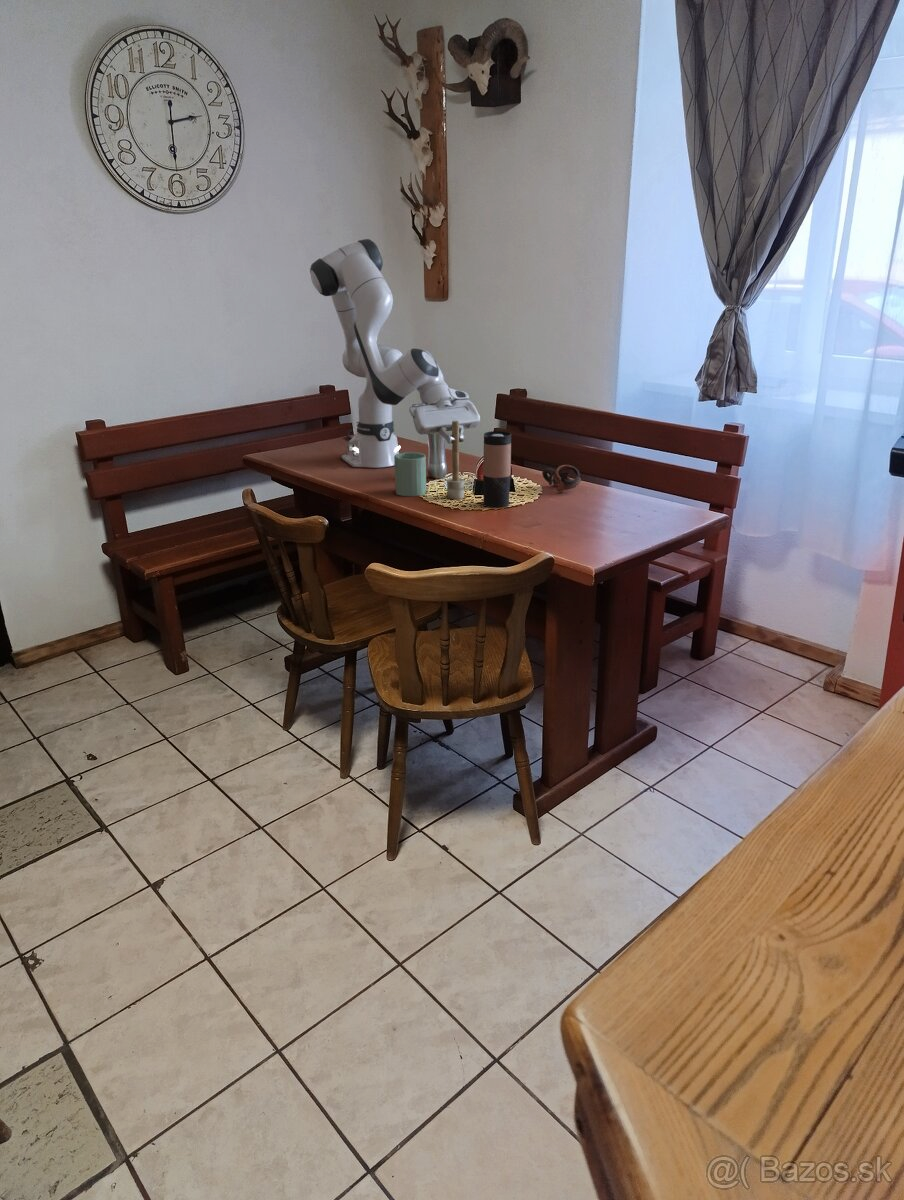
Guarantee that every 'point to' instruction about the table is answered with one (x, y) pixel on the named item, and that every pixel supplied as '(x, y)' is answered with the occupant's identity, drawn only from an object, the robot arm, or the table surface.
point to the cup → (410, 474)
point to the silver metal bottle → (436, 456)
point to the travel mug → (496, 468)
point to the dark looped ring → (562, 477)
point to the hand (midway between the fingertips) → (456, 441)
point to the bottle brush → (455, 468)
